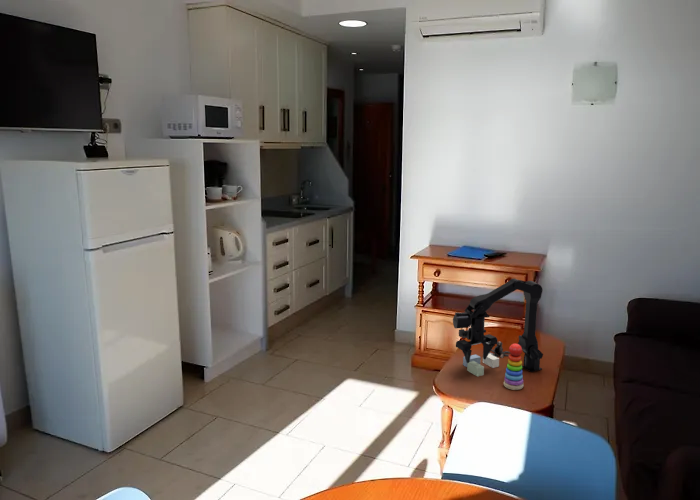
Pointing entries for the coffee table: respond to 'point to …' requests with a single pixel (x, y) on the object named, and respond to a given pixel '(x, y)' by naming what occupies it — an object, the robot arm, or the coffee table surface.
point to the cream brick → (491, 361)
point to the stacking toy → (514, 369)
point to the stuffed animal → (499, 351)
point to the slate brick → (472, 359)
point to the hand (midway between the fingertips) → (476, 360)
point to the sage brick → (475, 368)
